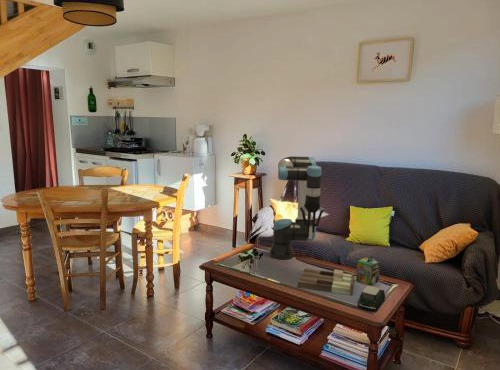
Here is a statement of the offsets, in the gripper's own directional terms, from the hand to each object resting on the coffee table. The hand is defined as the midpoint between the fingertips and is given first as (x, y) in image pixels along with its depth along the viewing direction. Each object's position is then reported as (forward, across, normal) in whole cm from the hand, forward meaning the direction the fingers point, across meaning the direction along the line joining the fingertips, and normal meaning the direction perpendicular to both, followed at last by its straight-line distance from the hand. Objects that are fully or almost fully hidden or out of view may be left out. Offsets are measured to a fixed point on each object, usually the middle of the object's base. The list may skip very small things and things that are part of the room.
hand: (310, 238), depth 206 cm
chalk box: (+23, +31, +6) cm, 39 cm away
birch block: (+19, +16, -6) cm, 26 cm away
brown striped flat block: (+22, +10, -5) cm, 25 cm away
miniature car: (+22, +32, -21) cm, 45 cm away
